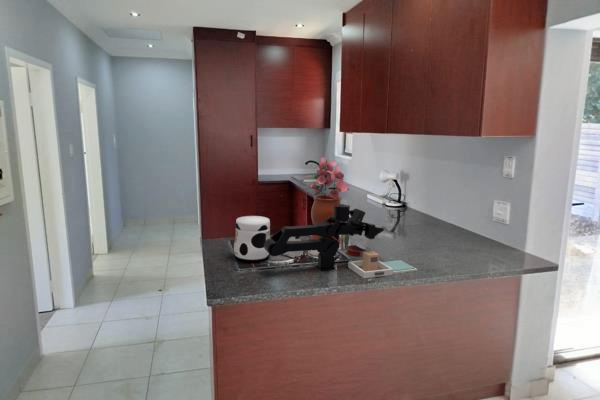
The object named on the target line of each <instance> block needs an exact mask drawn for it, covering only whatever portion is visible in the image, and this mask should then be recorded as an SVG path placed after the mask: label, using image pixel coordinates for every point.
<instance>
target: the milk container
mask: <svg viewBox="0 0 600 400" xmlns="http://www.w3.org/2000/svg"><path fill="white" fill-rule="evenodd" d="M270 220H271V219H270V218H268V217H265V216H259V215H245V216H240V217H237V218H236V221H235V240H234V244H233V253H234V256H235V257H236V258H237V259H240V260H243V261H246V262H248V261H249V262H254V261H257V262H258V261H264V260H265V258H266V259H267V257H268V258H269V257H270V256H271V255H270V254H269V253H268V252H267V251H266V250H265V248H264V243H265V241H266V240H267V239H270V238H271V221H270Z"/></svg>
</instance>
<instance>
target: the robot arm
mask: <svg viewBox="0 0 600 400" xmlns="http://www.w3.org/2000/svg"><path fill="white" fill-rule="evenodd" d="M365 215H366V212H365V211H364V210H362V209H359V208H353V209H351V205H348V204H342V203H341V204H339V205H337V206H334V217H332V216H331V217H330V218H329V219H327V220H326V221H323V222H319V223H316V224H314V225H313V224H309V225H294V226H288V225H287V226H283V227H281V229H279V231H277V232H275V233H274V234H273V235H271V236H270V239H267V240H266V241H265V243H264V248H265V250H266V251H267V252H268V253H269V254H270V256H271V257H278V256H284V255H283V254H284V253H286V252H292V251H303V252H306V251H307V252H308V251H317V252H318V253H317V264H315V266H316V267H317V268H318V269H319V270H320V271H331V270H336V267H335V262H336V258H335V257H336V255H337V252H338V250H339V249H340V245H341V243H340V244H339V242H338V241H337V240H339V236H351V237H354V235H355V236H356V235H357V236H360V237H361V236H363V233H364V237H365V238H367V239H368V240H374V239H375V238H376V236H378V235H379V234H381V233H382V232H383V231H384V230H385V228H383V227H377V226H376V225H375V224H373V223H368V222H365V221H363V220H364V218H365ZM340 221H341V222H340ZM331 223H334V224H331ZM311 235H318V236H320V238H319V239H317V240H311V239H305V240H303V239H302V240H301V241H288V240H289V238H290V237H297V236H300V237H309V236H310V237H311ZM332 236H333V237H334V238H335V239H334V238H333V237H332ZM336 239H337V240H336Z"/></svg>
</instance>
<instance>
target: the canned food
mask: <svg viewBox="0 0 600 400" xmlns="http://www.w3.org/2000/svg"><path fill="white" fill-rule="evenodd" d="M348 236H349V239H350V241H351V243H353V244H351V245H347V246H346V253H345V254H346V255H347V254H348V255H347V256H349V255H350V256H349V257H354V258H363V252H368V248H367V247H366V246H365V245H363V244H362V243H360V242H359V241H357V240H356V239H354V238H353V236H351V235H348Z"/></svg>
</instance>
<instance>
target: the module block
mask: <svg viewBox="0 0 600 400" xmlns="http://www.w3.org/2000/svg"><path fill="white" fill-rule="evenodd" d="M362 260H363V263H362V266H361V269H362V270H364V271H374V270H379V261H380V254H379V253H377V252H376V251H374V250H370V251H368V250H367V252H363V257H362Z"/></svg>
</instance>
